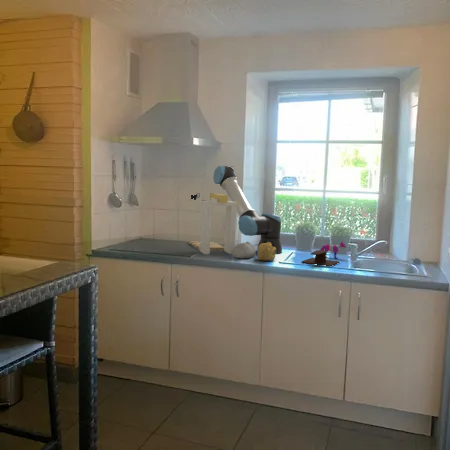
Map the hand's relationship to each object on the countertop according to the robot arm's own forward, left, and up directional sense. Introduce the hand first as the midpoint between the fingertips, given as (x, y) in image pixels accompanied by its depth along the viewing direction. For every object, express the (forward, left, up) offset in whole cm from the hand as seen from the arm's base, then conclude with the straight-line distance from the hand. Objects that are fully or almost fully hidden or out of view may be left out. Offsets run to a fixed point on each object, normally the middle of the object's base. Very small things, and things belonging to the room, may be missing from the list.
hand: (209, 195), depth 306 cm
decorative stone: (-43, +19, -32) cm, 57 cm away
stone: (-56, +17, -32) cm, 67 cm away
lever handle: (-81, +2, -33) cm, 87 cm away
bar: (-23, +19, -2) cm, 30 cm away
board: (-7, +9, -32) cm, 34 cm away
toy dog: (-76, -22, -32) cm, 85 cm away
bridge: (-24, +20, -32) cm, 45 cm away
